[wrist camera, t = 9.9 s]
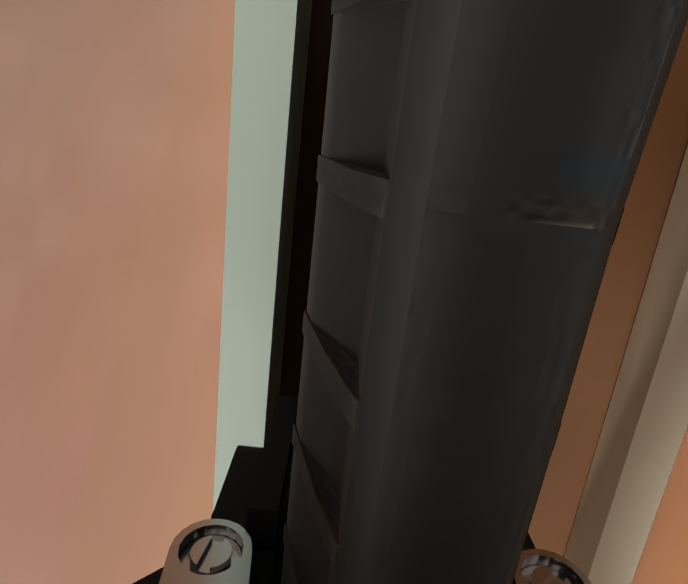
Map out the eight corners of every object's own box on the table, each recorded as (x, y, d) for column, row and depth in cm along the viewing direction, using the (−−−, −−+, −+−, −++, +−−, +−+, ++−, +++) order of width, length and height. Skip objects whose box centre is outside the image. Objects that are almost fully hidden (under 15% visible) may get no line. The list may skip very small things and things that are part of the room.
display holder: (607, -348, 11) (726, -572, 7) (383, 769, 21) (390, 887, 18) (289, -398, 10) (263, -653, 7) (220, 757, 21) (197, 875, 17)
